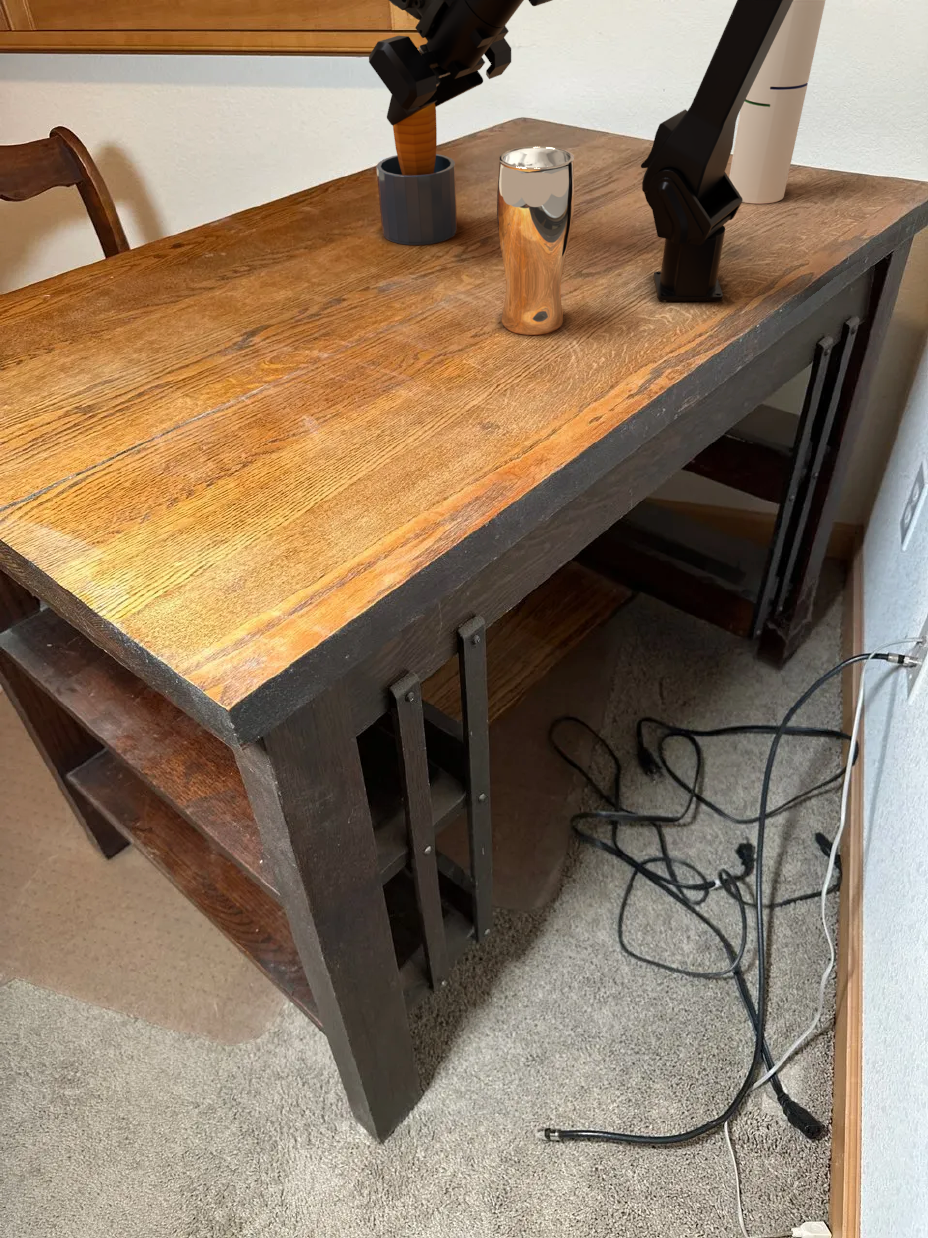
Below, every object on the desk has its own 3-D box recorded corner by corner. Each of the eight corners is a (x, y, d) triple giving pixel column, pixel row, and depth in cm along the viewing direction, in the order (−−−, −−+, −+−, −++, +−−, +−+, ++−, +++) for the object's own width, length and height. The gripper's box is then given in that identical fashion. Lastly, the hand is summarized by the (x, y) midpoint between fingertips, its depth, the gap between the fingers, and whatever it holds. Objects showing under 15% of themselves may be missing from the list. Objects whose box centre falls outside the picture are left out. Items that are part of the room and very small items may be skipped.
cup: (453, 245, 102) (451, 176, 97) (377, 245, 102) (371, 176, 97) (459, 218, 108) (457, 152, 103) (388, 218, 109) (382, 152, 104)
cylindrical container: (785, 204, 109) (839, -46, 92) (726, 202, 110) (769, -46, 93) (782, 186, 114) (832, -55, 97) (726, 184, 115) (766, -54, 98)
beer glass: (567, 307, 88) (576, 144, 78) (567, 338, 83) (576, 168, 73) (499, 306, 89) (499, 145, 79) (494, 336, 84) (494, 168, 74)
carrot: (440, 211, 101) (432, 60, 91) (397, 212, 101) (384, 62, 91) (441, 197, 105) (434, 51, 95) (400, 198, 105) (388, 52, 95)
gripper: (486, -84, 89) (409, 36, 102) (373, -63, 78) (302, 69, 91) (550, 13, 91) (467, 120, 104) (449, 46, 80) (369, 161, 93)
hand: (404, 115), depth 98 cm, fingers closed on carrot, 5 cm apart
